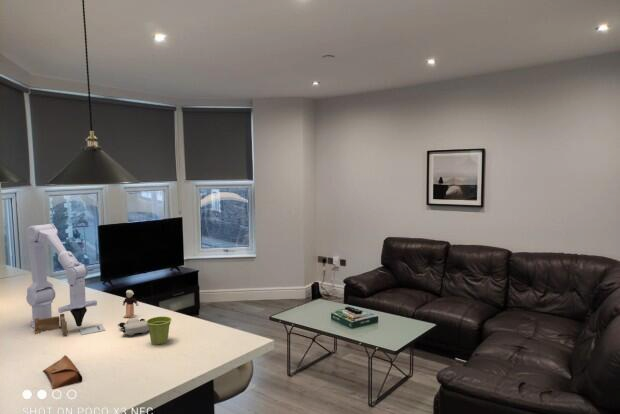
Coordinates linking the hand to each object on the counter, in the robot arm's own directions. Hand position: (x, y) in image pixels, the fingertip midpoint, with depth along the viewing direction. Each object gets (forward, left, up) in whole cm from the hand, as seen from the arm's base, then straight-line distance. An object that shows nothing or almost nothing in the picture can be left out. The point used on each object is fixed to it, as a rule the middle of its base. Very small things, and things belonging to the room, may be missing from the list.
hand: (79, 325), depth 181 cm
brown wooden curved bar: (-2, -5, -1) cm, 6 cm away
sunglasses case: (+44, -10, -3) cm, 45 cm away
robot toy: (+14, +19, -2) cm, 24 cm away
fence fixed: (-8, -10, -2) cm, 13 cm away
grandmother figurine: (-6, +22, -2) cm, 22 cm away
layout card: (+2, +5, -2) cm, 5 cm away
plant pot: (+32, +24, -2) cm, 41 cm away
